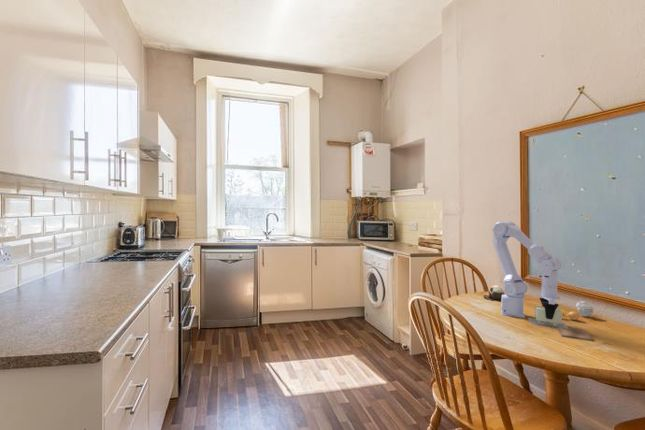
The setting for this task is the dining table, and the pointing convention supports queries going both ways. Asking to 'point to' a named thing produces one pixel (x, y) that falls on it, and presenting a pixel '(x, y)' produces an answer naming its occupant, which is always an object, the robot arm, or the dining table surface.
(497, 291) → the skull
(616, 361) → the dining table surface
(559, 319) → the sage block
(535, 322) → the grey tile
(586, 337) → the walnut pad
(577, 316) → the figurine
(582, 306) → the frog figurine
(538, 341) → the dining table surface
